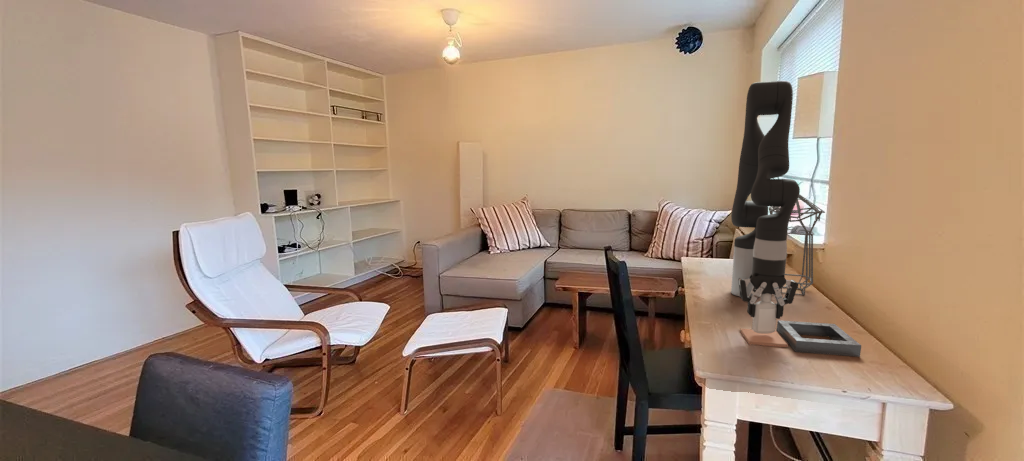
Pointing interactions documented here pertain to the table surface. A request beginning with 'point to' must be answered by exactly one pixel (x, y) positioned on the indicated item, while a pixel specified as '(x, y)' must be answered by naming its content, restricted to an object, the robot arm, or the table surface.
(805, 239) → the geometric lantern
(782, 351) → the table surface
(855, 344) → the socket plate
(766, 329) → the eye dropper bottle
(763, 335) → the terracotta tile
